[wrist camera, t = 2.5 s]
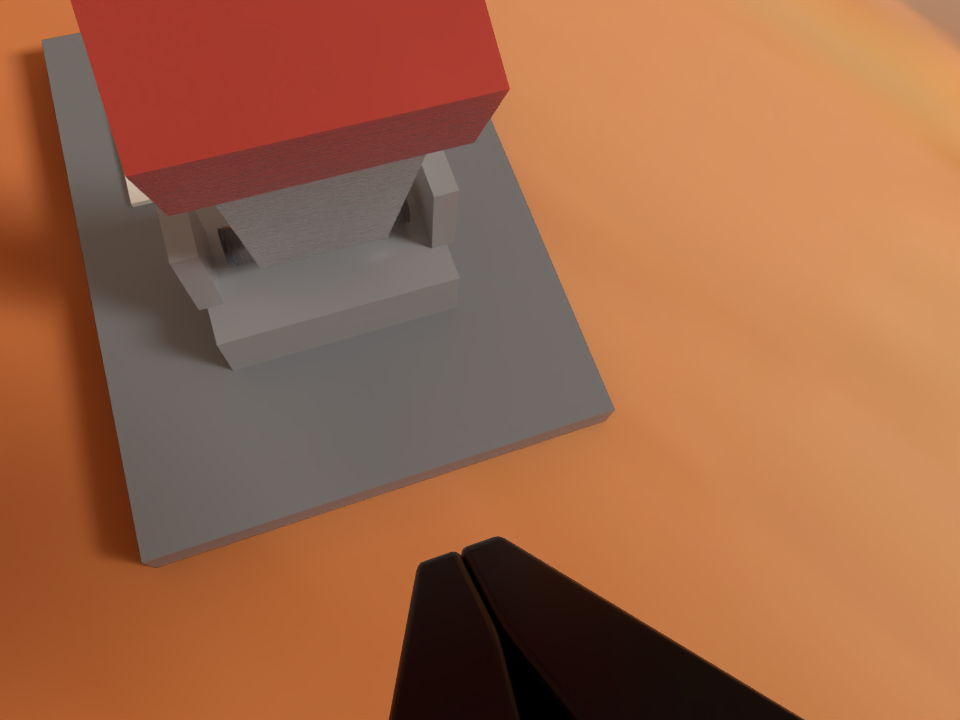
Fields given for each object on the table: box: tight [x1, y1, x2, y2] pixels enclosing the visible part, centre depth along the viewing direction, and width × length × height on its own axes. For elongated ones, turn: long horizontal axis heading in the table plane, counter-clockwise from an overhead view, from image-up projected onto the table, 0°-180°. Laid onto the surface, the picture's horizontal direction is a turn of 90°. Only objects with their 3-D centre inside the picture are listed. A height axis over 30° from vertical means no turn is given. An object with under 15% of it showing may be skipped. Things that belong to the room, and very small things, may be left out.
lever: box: [71, 0, 510, 269], centre depth 13 cm, size 2×4×11 cm, turn 110°
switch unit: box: [42, 33, 615, 568], centre depth 20 cm, size 16×12×5 cm
